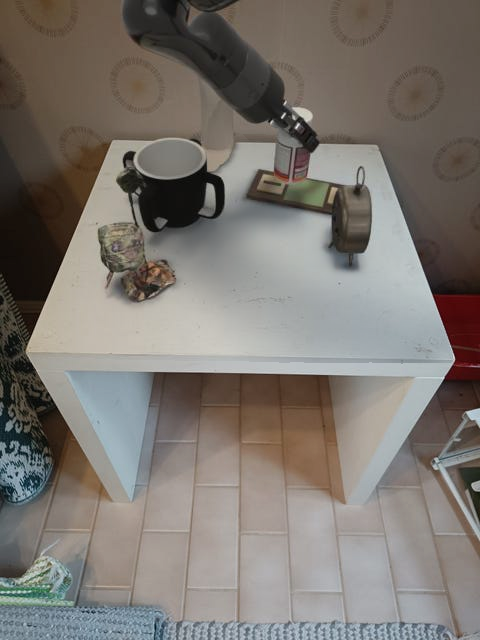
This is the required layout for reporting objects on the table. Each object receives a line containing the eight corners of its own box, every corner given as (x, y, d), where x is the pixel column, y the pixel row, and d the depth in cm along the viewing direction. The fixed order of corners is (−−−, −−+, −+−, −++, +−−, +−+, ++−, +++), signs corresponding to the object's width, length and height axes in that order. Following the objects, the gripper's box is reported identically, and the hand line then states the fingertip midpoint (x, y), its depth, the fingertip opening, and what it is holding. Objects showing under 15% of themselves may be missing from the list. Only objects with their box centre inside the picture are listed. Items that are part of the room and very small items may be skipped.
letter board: (364, 192, 86) (366, 186, 85) (358, 220, 80) (360, 215, 79) (258, 172, 89) (258, 166, 88) (246, 198, 84) (246, 192, 83)
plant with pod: (104, 272, 72) (67, 166, 56) (171, 259, 74) (154, 153, 58) (109, 309, 67) (70, 205, 51) (181, 294, 69) (164, 189, 53)
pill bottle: (308, 167, 80) (317, 107, 71) (305, 187, 76) (315, 126, 67) (274, 164, 80) (280, 103, 71) (271, 184, 77) (276, 122, 68)
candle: (189, 169, 90) (179, 67, 74) (206, 135, 98) (201, 35, 82) (222, 174, 89) (219, 71, 73) (237, 139, 97) (237, 39, 81)
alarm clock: (361, 271, 73) (388, 190, 60) (329, 271, 73) (349, 190, 60) (351, 228, 79) (374, 146, 66) (322, 227, 79) (339, 146, 66)
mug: (229, 235, 78) (228, 178, 68) (140, 250, 75) (126, 193, 66) (210, 182, 87) (207, 125, 77) (130, 194, 85) (117, 136, 75)
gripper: (294, 77, 55) (345, 138, 68) (234, 39, 62) (290, 100, 76) (258, 129, 57) (314, 177, 71) (204, 86, 65) (264, 137, 78)
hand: (302, 137), depth 73 cm, fingers closed on pill bottle, 6 cm apart
